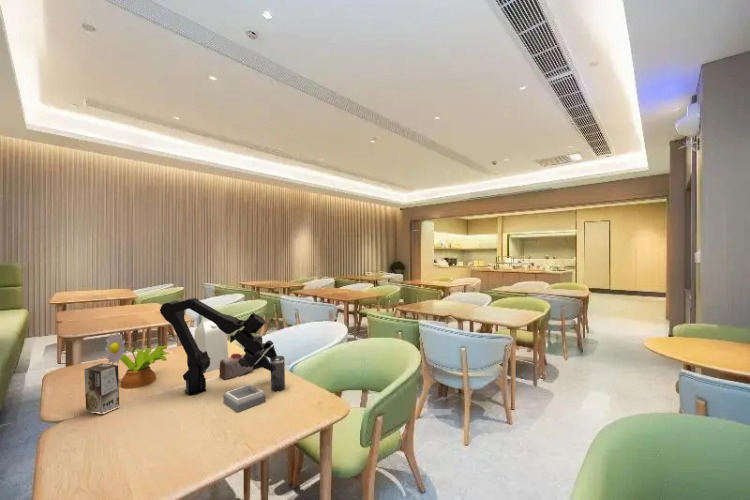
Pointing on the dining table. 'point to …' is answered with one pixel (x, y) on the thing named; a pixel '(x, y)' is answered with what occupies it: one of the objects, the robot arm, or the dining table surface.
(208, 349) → the milk
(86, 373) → the coffee box
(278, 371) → the dark tapered cup
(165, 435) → the dining table surface
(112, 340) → the decorative plant
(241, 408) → the shallow square tray
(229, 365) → the weathered brick
